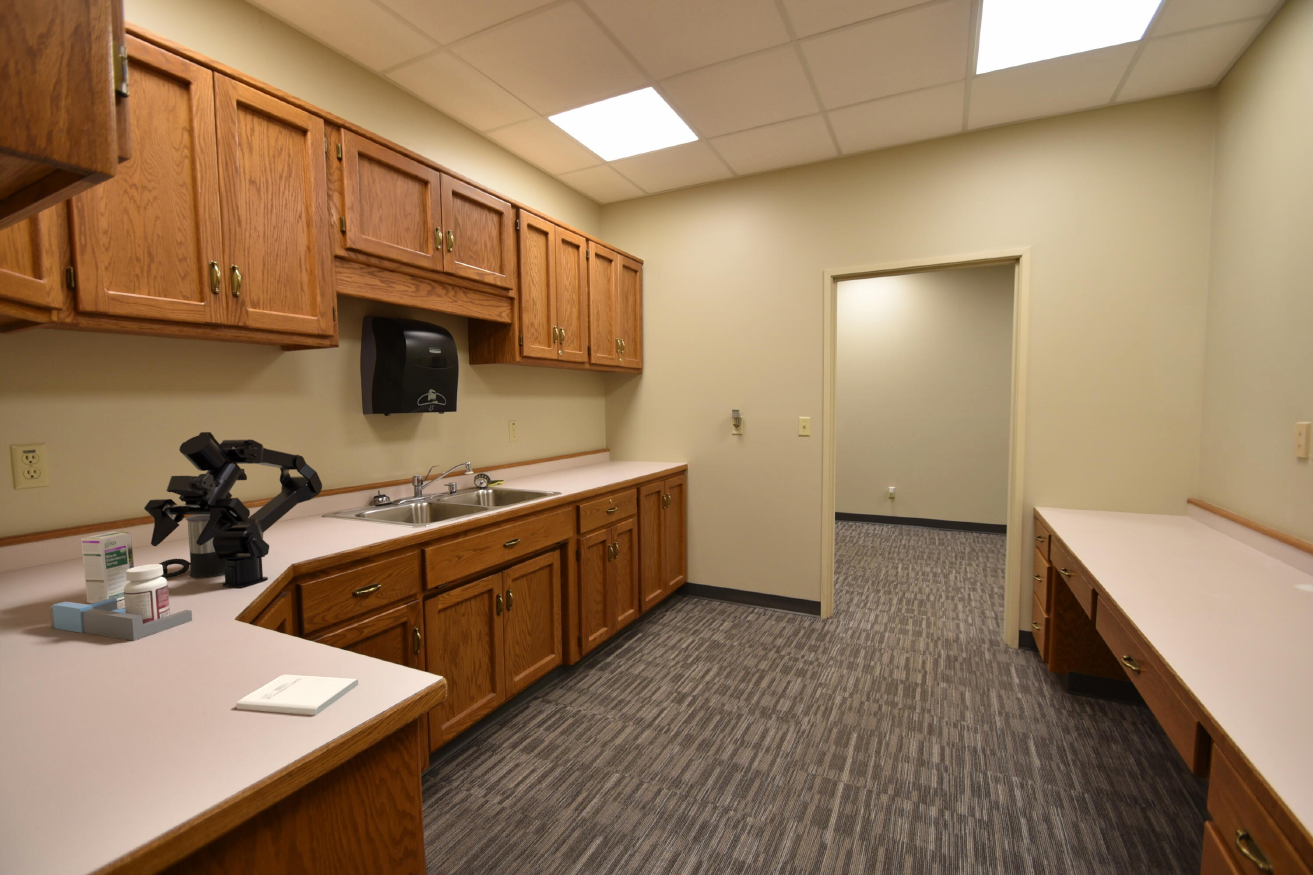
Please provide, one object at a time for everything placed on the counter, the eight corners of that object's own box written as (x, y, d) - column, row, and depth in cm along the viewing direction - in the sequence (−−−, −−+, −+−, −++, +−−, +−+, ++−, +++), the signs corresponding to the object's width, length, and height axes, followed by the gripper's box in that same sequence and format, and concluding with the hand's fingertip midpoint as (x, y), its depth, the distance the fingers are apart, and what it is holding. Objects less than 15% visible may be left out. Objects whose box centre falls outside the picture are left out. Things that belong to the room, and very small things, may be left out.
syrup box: (107, 604, 118) (101, 537, 117) (85, 603, 119) (80, 536, 118) (137, 595, 123) (132, 531, 122) (116, 594, 124) (111, 530, 123)
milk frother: (240, 572, 140) (236, 514, 139) (156, 588, 128) (152, 525, 127) (227, 562, 149) (223, 508, 148) (148, 576, 137) (144, 517, 137)
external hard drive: (316, 719, 74) (236, 712, 76) (358, 688, 82) (285, 682, 84) (315, 707, 74) (235, 700, 76) (358, 677, 82) (285, 672, 84)
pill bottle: (163, 617, 110) (159, 561, 109) (175, 623, 107) (171, 565, 106) (121, 628, 105) (117, 569, 104) (133, 634, 101) (128, 574, 101)
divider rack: (192, 620, 108) (190, 597, 108) (132, 641, 99) (130, 615, 98) (112, 609, 115) (111, 587, 115) (49, 627, 106) (47, 603, 105)
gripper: (149, 461, 117) (100, 523, 106) (237, 460, 117) (196, 521, 106) (183, 493, 125) (140, 553, 114) (265, 491, 125) (230, 552, 114)
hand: (175, 544), depth 112 cm, fingers open, 9 cm apart
